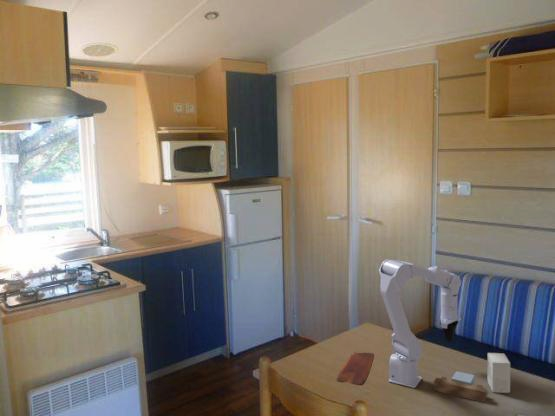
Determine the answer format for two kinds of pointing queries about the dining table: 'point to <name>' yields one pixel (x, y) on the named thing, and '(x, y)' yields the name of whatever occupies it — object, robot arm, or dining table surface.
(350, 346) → the dining table surface
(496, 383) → the small box
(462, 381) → the block
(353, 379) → the wooden tablet
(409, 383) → the robot arm
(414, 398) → the dining table surface
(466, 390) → the rail
